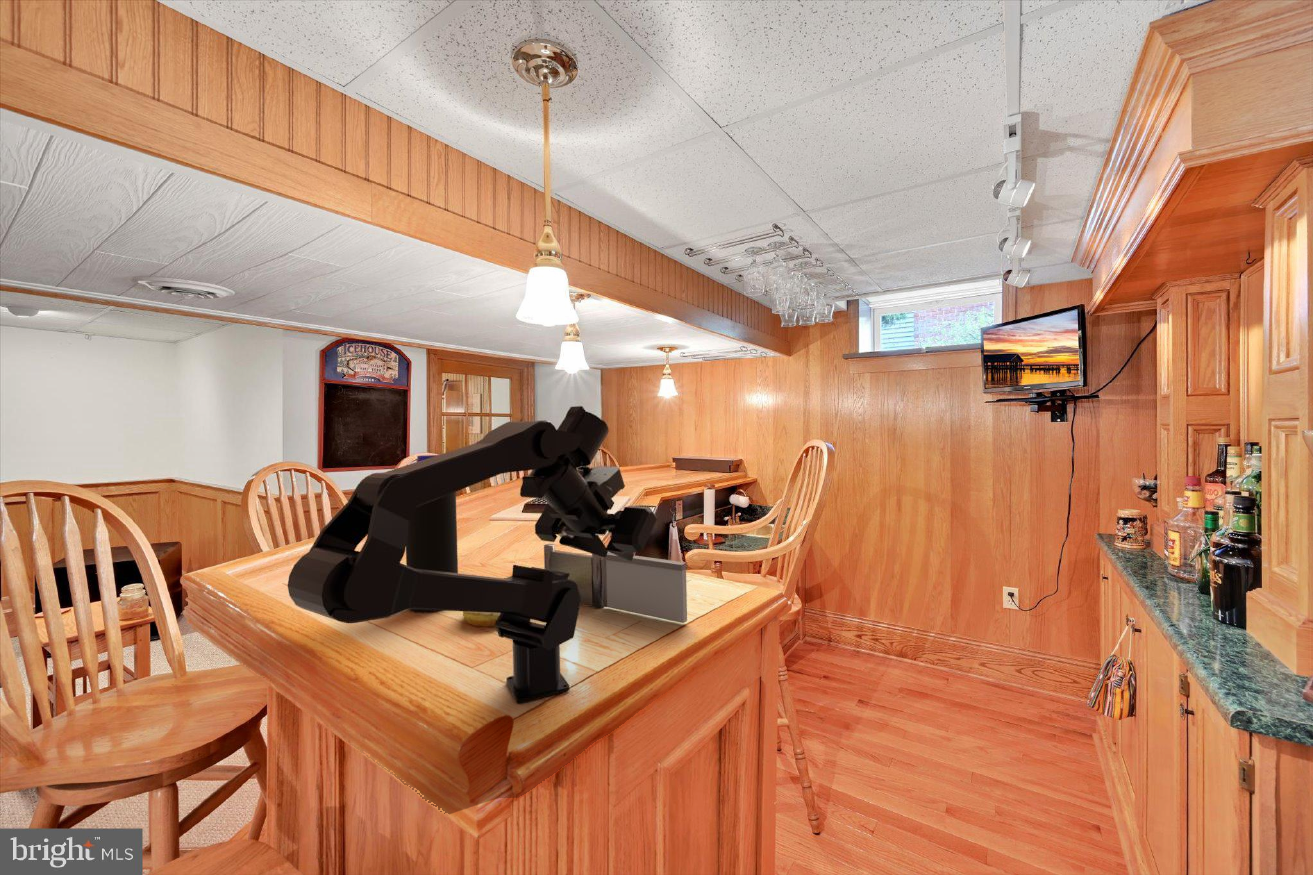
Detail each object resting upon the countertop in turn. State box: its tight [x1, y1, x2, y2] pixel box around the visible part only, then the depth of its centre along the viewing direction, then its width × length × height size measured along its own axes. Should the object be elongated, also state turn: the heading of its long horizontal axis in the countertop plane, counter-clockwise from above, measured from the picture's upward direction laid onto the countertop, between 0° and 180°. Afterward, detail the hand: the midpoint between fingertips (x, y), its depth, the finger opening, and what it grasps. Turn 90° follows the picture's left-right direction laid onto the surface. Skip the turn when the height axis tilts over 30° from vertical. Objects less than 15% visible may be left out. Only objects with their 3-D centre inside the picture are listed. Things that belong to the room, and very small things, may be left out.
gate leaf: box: [602, 552, 688, 624], centre depth 89 cm, size 17×2×10 cm, turn 57°
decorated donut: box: [462, 611, 501, 628], centre depth 90 cm, size 10×11×4 cm
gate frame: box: [543, 543, 605, 610], centre depth 97 cm, size 14×2×10 cm, turn 57°
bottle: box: [405, 454, 459, 613], centre depth 97 cm, size 9×9×28 cm
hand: (618, 556), depth 80 cm, fingers open, 5 cm apart
